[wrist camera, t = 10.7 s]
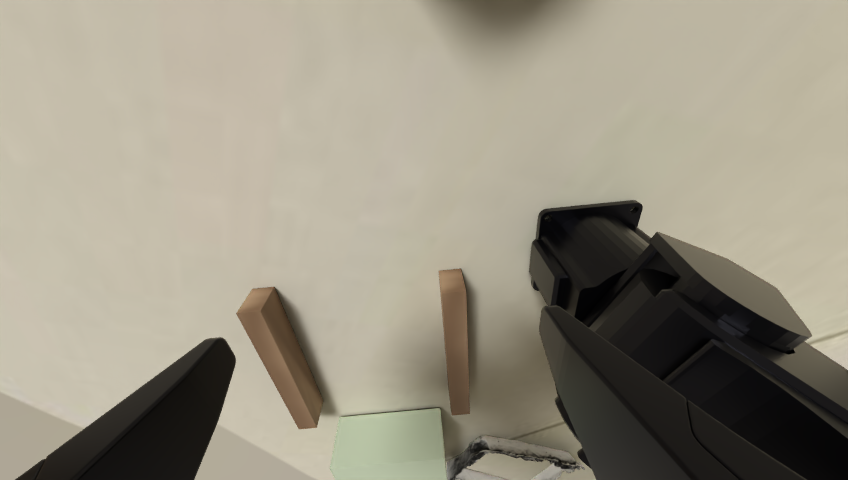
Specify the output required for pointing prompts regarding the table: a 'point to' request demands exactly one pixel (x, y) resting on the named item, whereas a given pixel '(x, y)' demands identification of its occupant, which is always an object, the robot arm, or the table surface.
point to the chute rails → (292, 371)
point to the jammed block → (390, 447)
